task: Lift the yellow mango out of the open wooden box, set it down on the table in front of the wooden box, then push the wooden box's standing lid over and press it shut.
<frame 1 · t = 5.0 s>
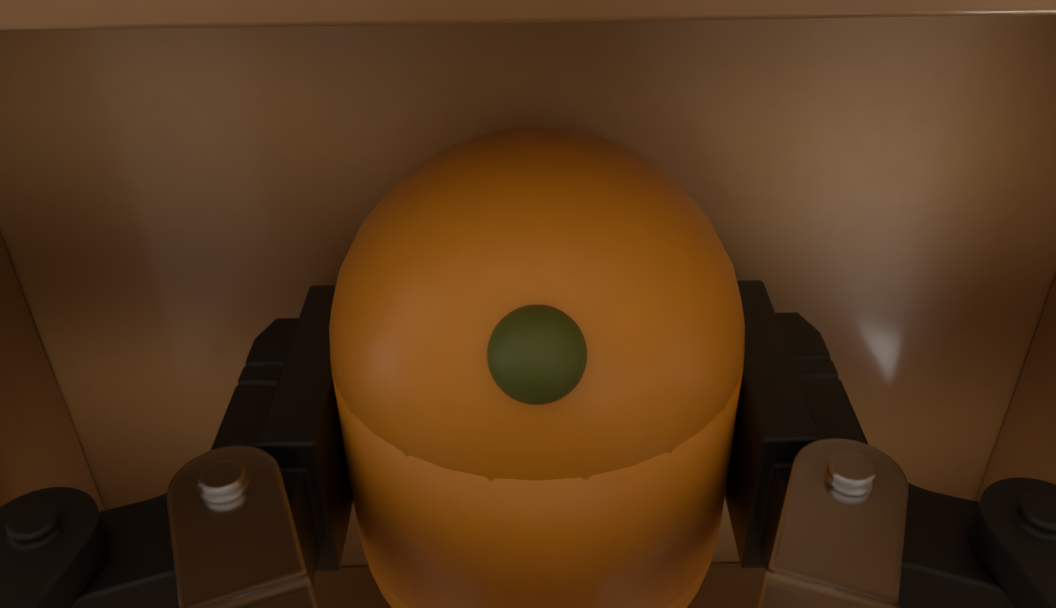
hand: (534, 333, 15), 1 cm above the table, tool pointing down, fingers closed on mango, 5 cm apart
wooden box: (536, 281, 16), on the table
mango: (536, 308, 15), point 1 cm above the table, touching gripper, wooden box
when the fingers open (1 cm above the table, at t = 14.4 s): mango stays where it is, on the table.
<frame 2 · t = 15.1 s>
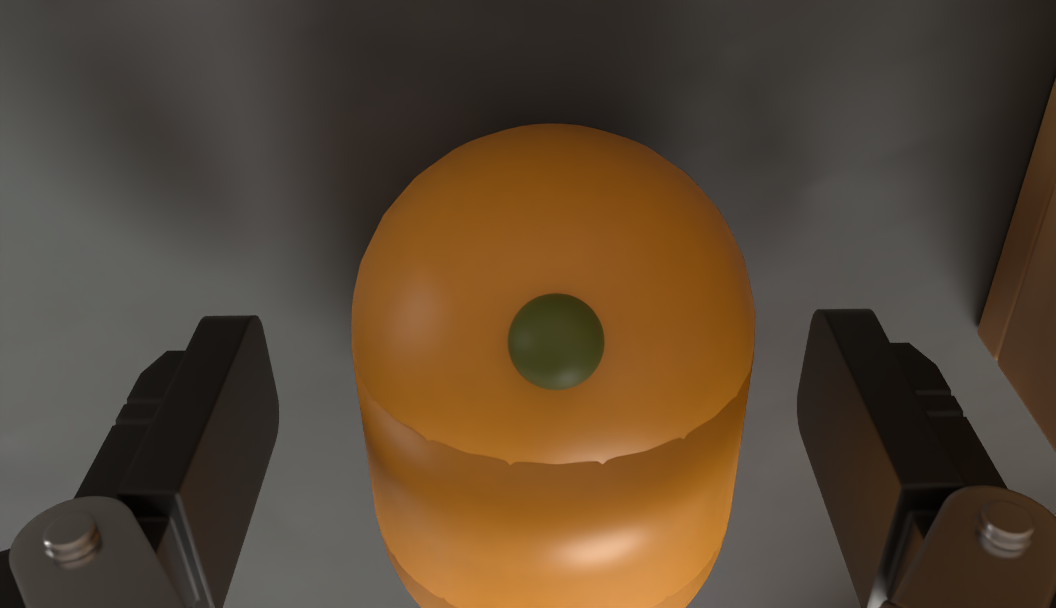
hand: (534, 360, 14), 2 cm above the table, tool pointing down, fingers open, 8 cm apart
mango: (548, 302, 15), on the table
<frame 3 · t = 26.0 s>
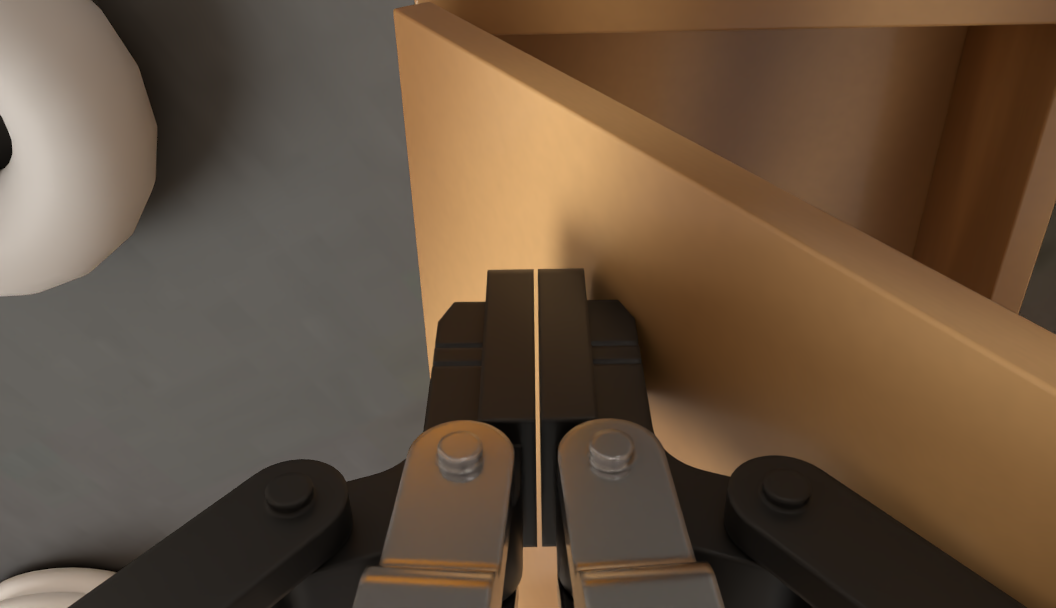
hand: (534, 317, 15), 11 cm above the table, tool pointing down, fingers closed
wooden box: (693, 245, 27), on the table
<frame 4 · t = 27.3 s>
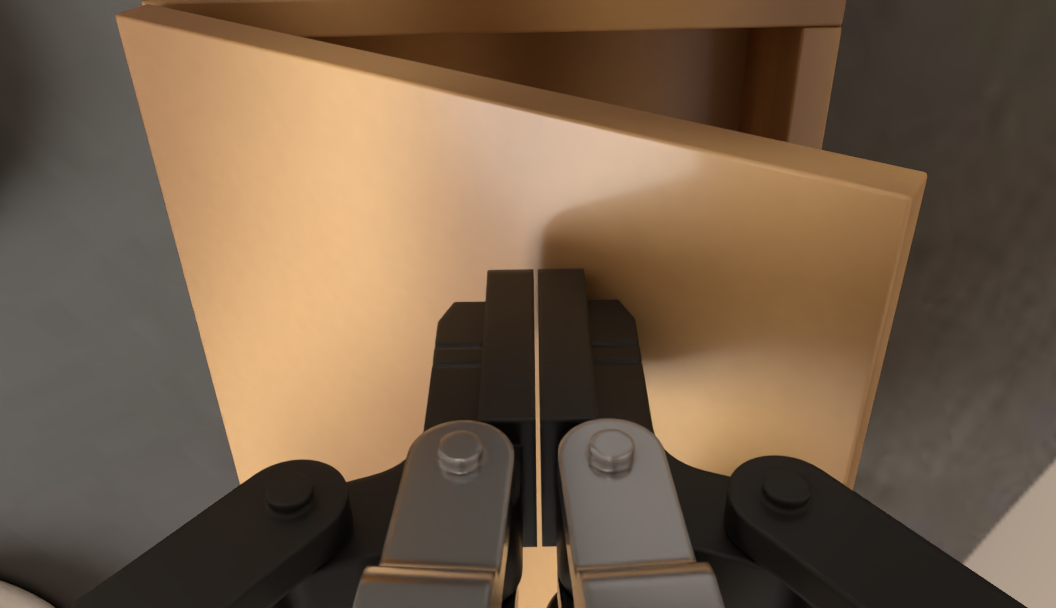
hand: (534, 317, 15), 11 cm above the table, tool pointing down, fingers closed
wooden box: (511, 246, 27), on the table
lid: (409, 551, 18), point 11 cm above the table, hinge at 32.4°, touching gripper
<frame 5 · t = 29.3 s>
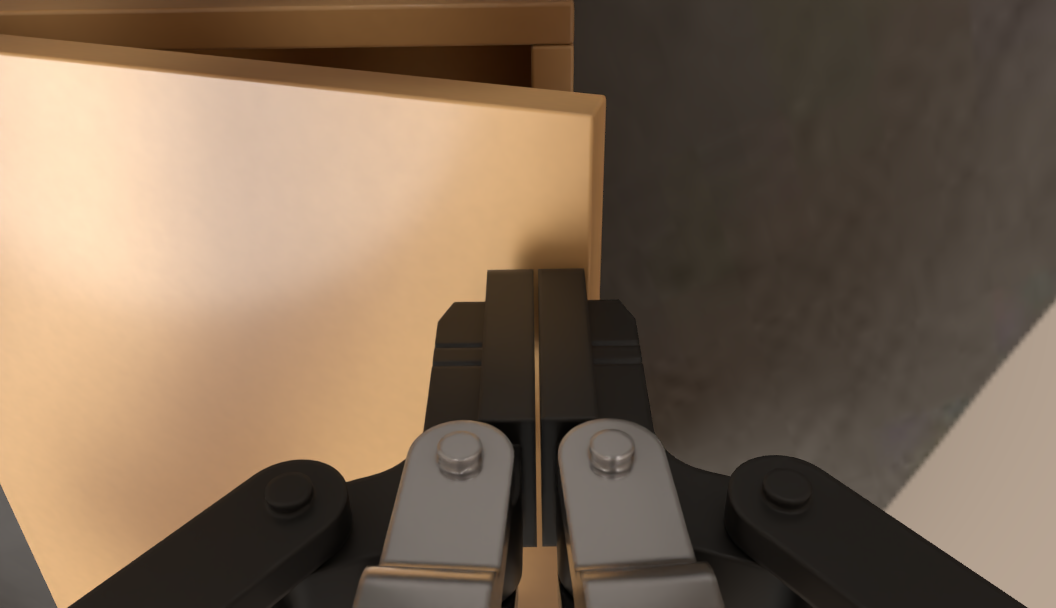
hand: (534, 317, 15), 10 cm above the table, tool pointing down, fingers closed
wooden box: (319, 264, 27), on the table
lid: (203, 532, 18), point 10 cm above the table, hinge at 17.0°, touching gripper
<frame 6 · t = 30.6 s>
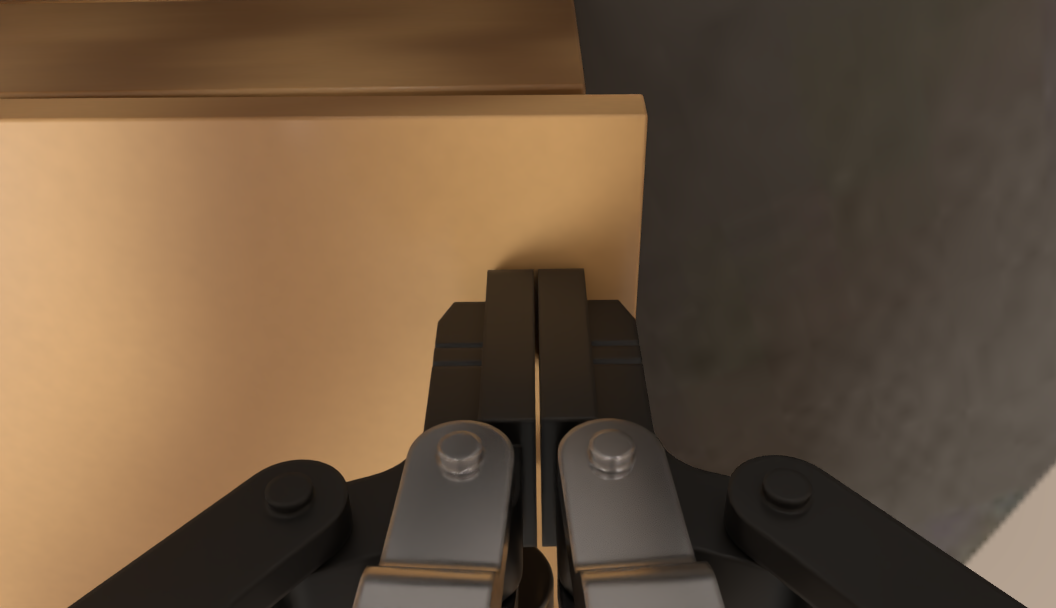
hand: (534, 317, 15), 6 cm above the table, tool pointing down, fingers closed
wooden box: (290, 350, 23), on the table
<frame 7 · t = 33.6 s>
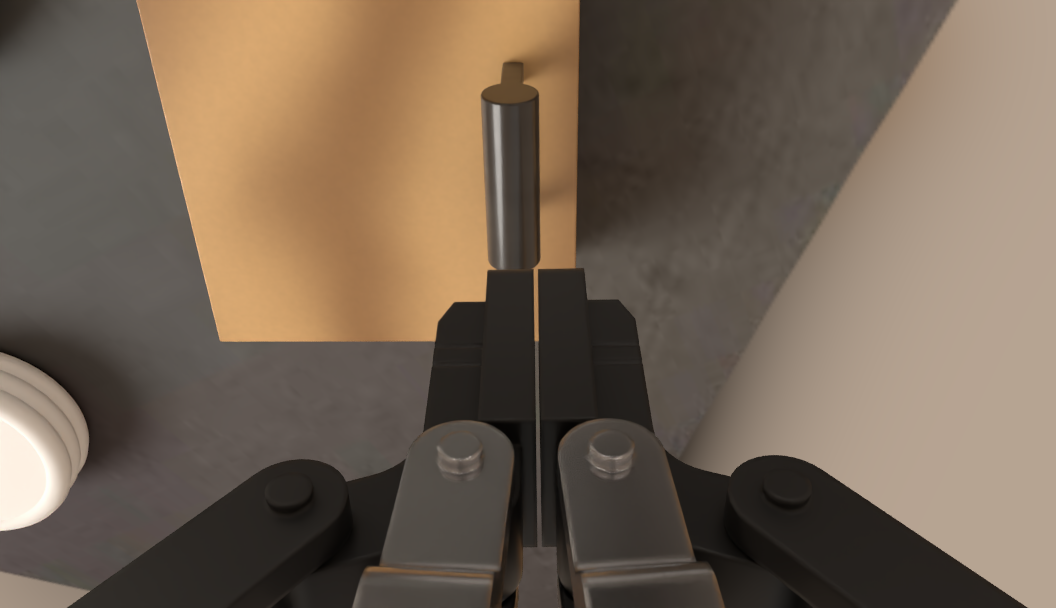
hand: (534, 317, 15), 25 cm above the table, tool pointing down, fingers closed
lid: (365, 161, 32), point 8 cm above the table, hinge at 1.1°
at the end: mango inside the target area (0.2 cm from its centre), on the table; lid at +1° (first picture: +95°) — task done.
